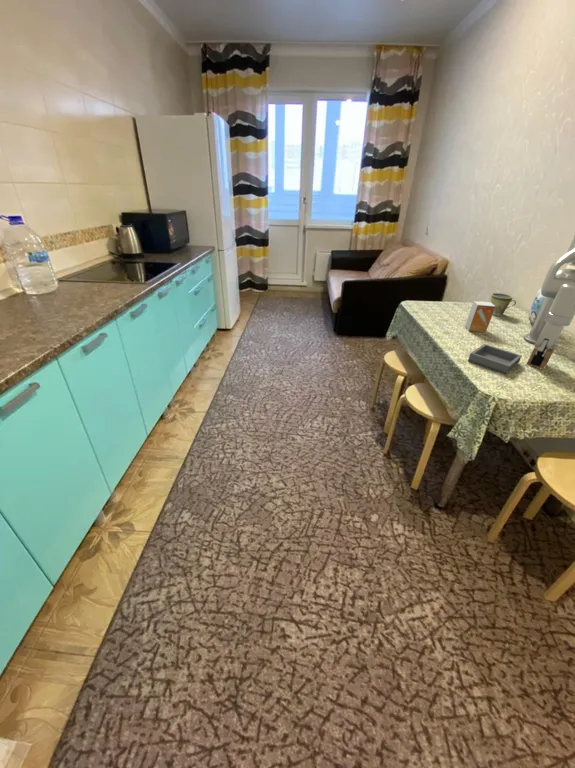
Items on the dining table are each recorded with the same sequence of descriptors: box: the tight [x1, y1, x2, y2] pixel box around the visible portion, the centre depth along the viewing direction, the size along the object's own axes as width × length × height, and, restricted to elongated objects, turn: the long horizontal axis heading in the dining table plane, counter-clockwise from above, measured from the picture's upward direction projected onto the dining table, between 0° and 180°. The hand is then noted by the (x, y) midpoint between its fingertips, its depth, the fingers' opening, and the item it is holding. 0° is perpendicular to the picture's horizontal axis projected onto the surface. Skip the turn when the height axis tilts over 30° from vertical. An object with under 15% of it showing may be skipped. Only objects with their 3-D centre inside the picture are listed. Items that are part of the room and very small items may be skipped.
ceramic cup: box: [490, 292, 517, 317], centre depth 178 cm, size 13×10×10 cm
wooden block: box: [526, 345, 555, 370], centre depth 128 cm, size 6×6×7 cm
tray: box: [467, 343, 522, 376], centre depth 129 cm, size 14×14×4 cm
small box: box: [464, 300, 496, 333], centre depth 156 cm, size 8×6×13 cm
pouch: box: [528, 287, 545, 326], centre depth 159 cm, size 8×19×20 cm, turn 154°
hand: (537, 362), depth 129 cm, fingers closed on wooden block, 5 cm apart
